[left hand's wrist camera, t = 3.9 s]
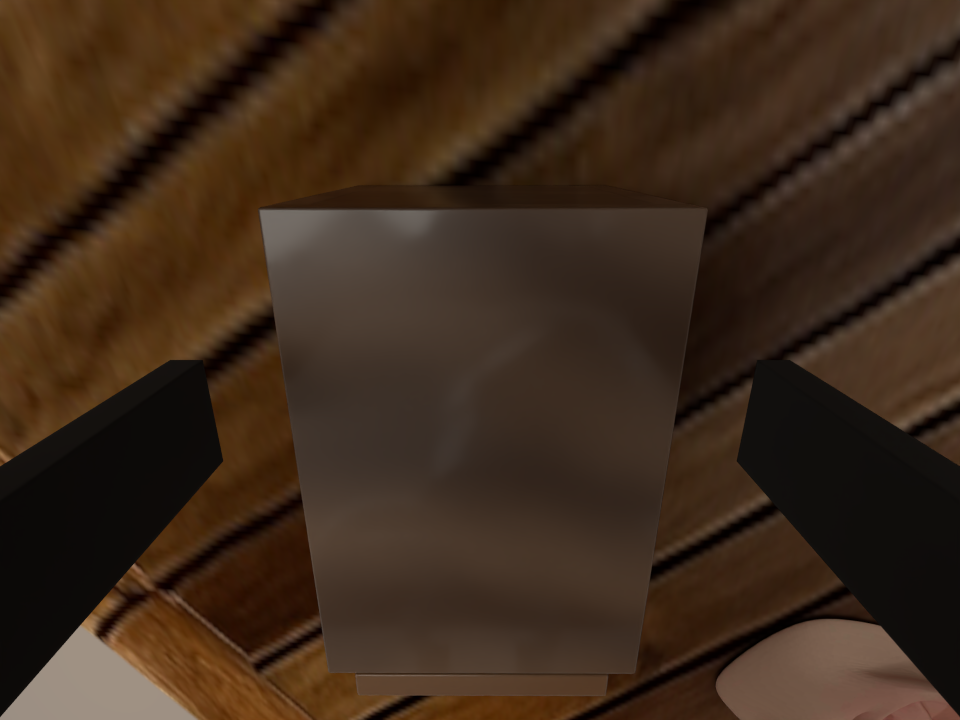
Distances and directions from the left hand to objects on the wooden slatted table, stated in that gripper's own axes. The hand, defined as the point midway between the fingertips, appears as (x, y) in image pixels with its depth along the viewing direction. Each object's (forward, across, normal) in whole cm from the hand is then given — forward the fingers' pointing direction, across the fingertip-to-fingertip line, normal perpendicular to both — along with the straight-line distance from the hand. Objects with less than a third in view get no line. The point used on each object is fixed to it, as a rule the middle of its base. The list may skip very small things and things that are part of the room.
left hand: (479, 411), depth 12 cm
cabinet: (+13, 0, -3) cm, 13 cm away
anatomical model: (+13, +23, -26) cm, 37 cm away
